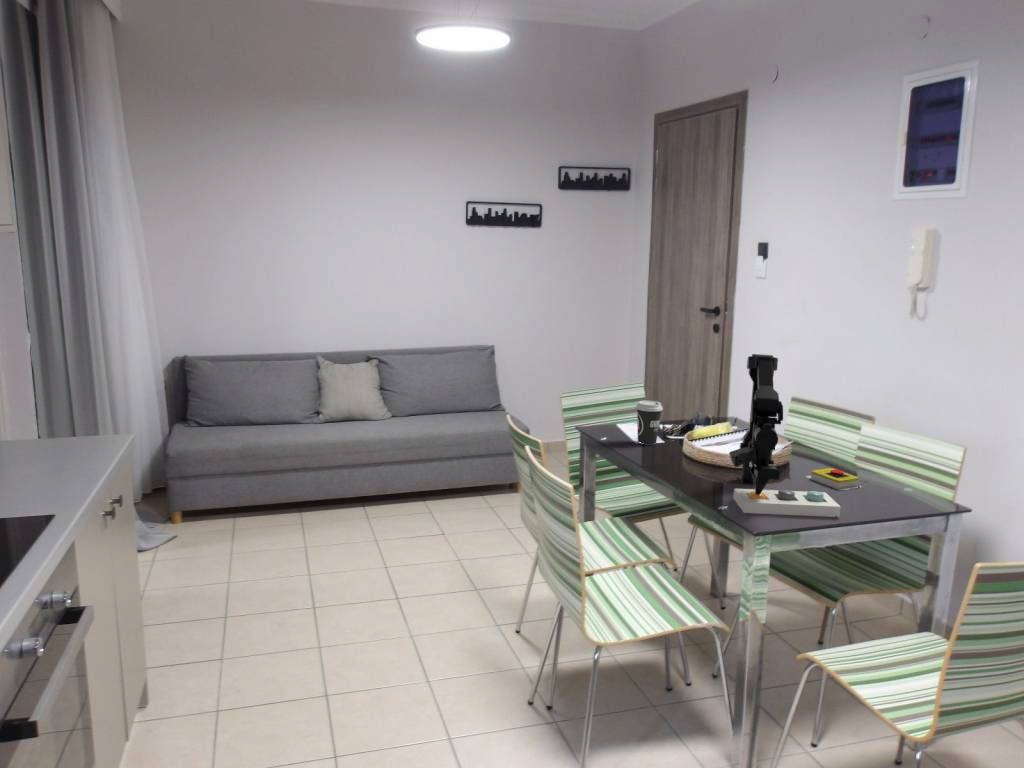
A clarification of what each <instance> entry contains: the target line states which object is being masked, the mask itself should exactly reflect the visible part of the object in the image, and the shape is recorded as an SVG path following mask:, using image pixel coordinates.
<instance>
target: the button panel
mask: <svg viewBox="0 0 1024 768" xmlns="http://www.w3.org/2000/svg"><path fill="white" fill-rule="evenodd" d="M733 489H734V490H733V500H734V501H735V503H736V504H737V505H738V506H739V508H740V510H741V511H742V513H744V514H758V515H759V514H761V515H763V514H764V515H784V516H785V515H787V516H805V517H826V518H827V517H829V518H830V517H831V518H841V517H840V516H841V505H840V504H838V503H837V502H836V501H835V500H834V498H832V497H831V496H830V495H829V494H828V493H827V492H825V491H823V492H821V491H820V492H821V493H823V494H824V498H823V502H811V501H807V500H806V498H807V492H808V491H803V490H802V491H801V490H799V491H797V490H792V491H793V492H794V493H795V497H794V501H788V500H779V499H778V491H779V490H780V489H779V490H777V489H776V490H775V489H763V490H762V493H764V494H766V498H765V499H750V498H749V493H750V492H755V488H754V489H753V488H733ZM835 516H837V517H835Z"/></svg>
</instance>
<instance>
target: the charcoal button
mask: <svg viewBox="0 0 1024 768" xmlns="http://www.w3.org/2000/svg"><path fill="white" fill-rule="evenodd" d="M793 491H794V490H788V489H779V491H778V499H779V500H788V501H794V497H795V493H794V492H793Z"/></svg>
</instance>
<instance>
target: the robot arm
mask: <svg viewBox="0 0 1024 768" xmlns="http://www.w3.org/2000/svg"><path fill="white" fill-rule="evenodd" d="M746 361H747V362H746V369H747V370H748V375H749V377H750V379H751V381H752V388H751V400H750V401H751V403H750V412H749V423H748V430H747V431H746V432H745V434H744V435H743V436H742V442H740V444H739V448H738V449H735V450H732V451H729V452H728V453H729V456H730V461H731V464H732V465H733V466H734V467H741V466H742V467H741V468H742V469H741V475H738V476H737V477H738V479H739V480H740V481H741V482H742V483H743V484H753V487H754V489H755V493H756V494H760V493H761V492H762V490H765V487H766V486H767V484H768V482H769V481H770V480H773V481H774V480H781V479H782V478H781V476H782V472H781V471H780V470H779V469H778V468H777V467H776V466H775V464H774V463H775V460H773V452H774V451H776V446H777V445H778V443H779V437H778V434H777V433H778V432H777V431H776V425H781V424H782V422H783V420H784V405H783V402H782V401H781V400H780V395H779V392H778V391H776V389H775V388H774V376H775V375H774V374H775V371H778V363H779V357H774V355H771V354H757V353H752V354H751V356H750V355H749V356H748V357H747V360H746Z"/></svg>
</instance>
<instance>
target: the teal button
mask: <svg viewBox="0 0 1024 768" xmlns="http://www.w3.org/2000/svg"><path fill="white" fill-rule="evenodd" d="M806 492H807V498H806V500H807V501H811V502H823V498H824V494H823V493H821V491H816V490H808V491H806Z"/></svg>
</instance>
